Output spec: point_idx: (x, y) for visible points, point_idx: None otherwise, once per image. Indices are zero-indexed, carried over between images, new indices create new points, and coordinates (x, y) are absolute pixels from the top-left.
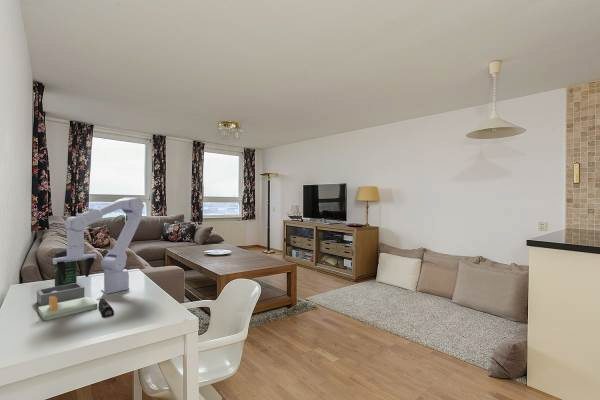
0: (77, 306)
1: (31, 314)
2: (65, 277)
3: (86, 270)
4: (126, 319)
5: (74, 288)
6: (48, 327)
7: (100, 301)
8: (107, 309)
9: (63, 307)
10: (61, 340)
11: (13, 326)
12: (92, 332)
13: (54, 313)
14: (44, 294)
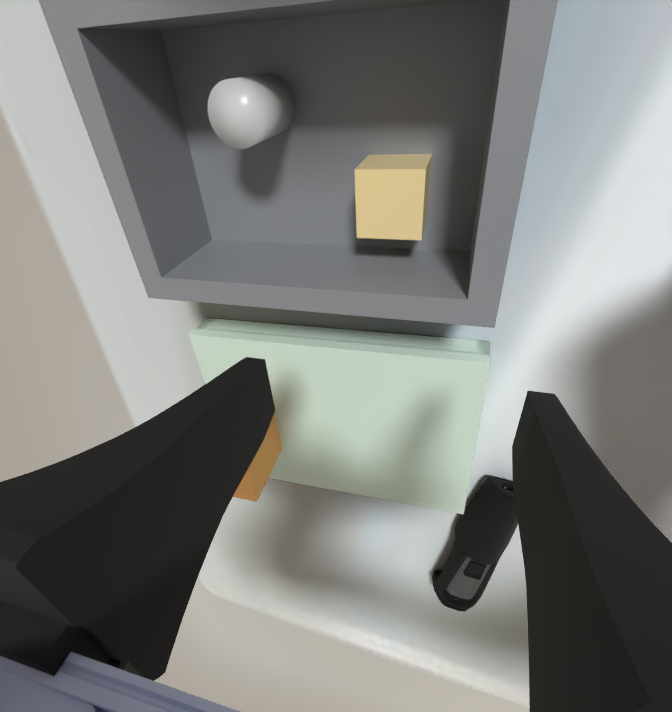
0: (369, 480)
1: (181, 332)
2: (257, 447)
3: (532, 520)
4: (481, 631)
5: (400, 300)
6: (263, 512)
7: (487, 513)
8: (450, 605)
9: (308, 443)
10: (294, 592)
11: None
12: (365, 614)
13: (271, 477)
14: (169, 295)
